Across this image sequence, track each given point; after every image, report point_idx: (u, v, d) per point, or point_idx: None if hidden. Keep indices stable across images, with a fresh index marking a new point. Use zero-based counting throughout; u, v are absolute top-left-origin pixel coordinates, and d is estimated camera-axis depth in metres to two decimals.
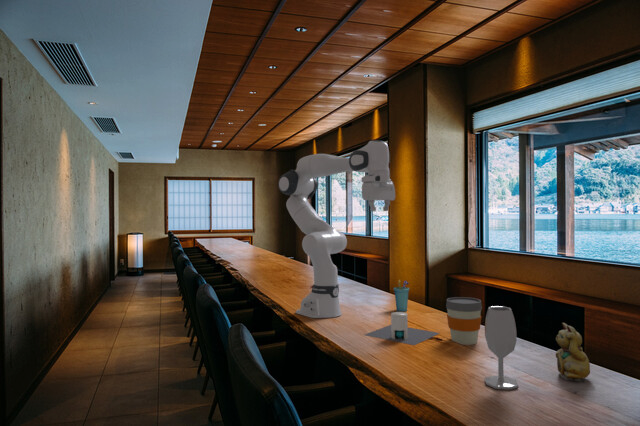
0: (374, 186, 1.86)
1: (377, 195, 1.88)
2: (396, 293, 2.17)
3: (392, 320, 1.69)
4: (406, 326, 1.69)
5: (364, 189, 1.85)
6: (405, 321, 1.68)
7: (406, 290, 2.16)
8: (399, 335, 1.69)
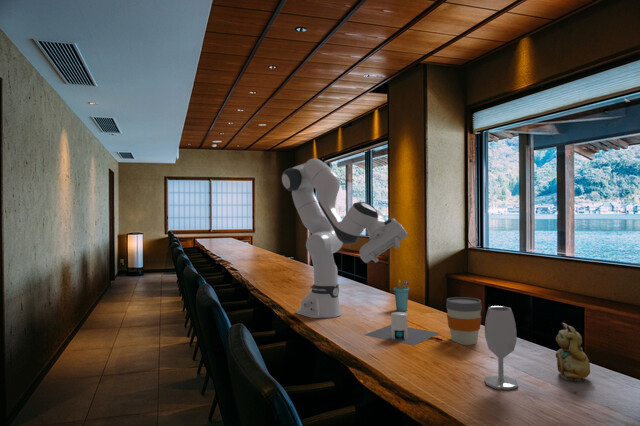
0: None
1: None
2: (396, 293, 2.17)
3: (392, 320, 1.69)
4: (406, 326, 1.69)
5: None
6: (405, 321, 1.68)
7: (406, 290, 2.16)
8: (399, 335, 1.69)
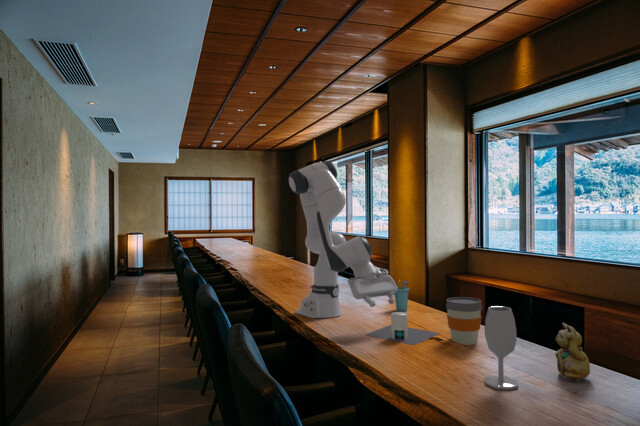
0: None
1: None
2: (396, 293, 2.17)
3: (392, 320, 1.69)
4: (406, 326, 1.69)
5: None
6: (405, 321, 1.68)
7: (406, 290, 2.16)
8: (399, 335, 1.69)
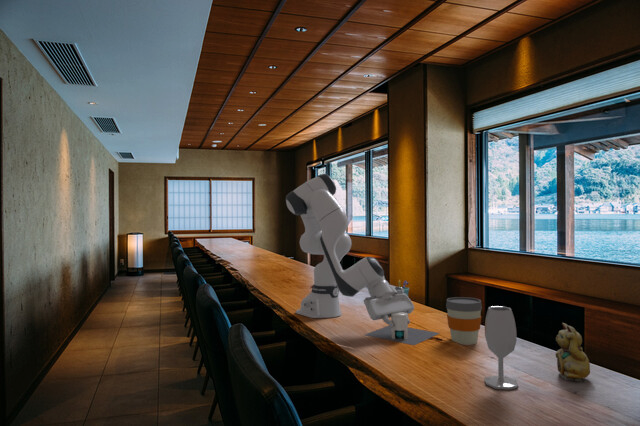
0: None
1: None
2: None
3: (392, 320, 1.69)
4: (406, 326, 1.69)
5: None
6: (405, 321, 1.68)
7: (406, 290, 2.16)
8: (399, 335, 1.69)
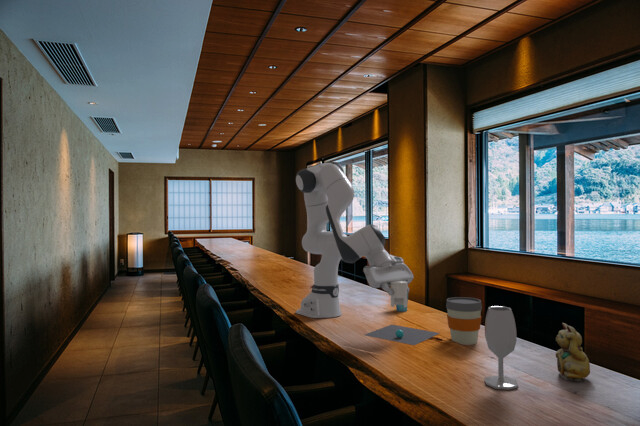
0: None
1: None
2: None
3: (391, 288, 1.69)
4: (405, 294, 1.69)
5: None
6: (404, 289, 1.68)
7: None
8: (399, 335, 1.69)
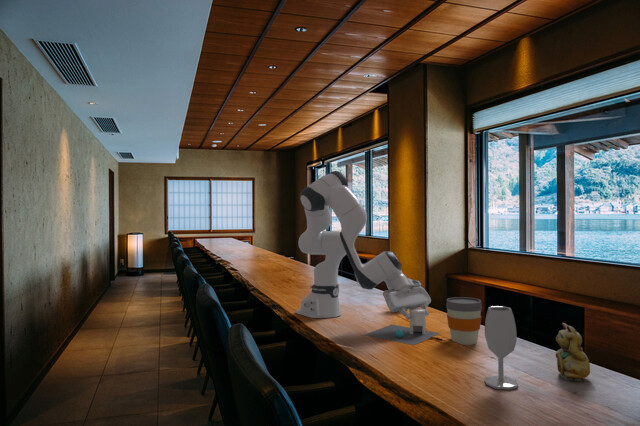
0: None
1: None
2: None
3: None
4: (424, 322, 1.75)
5: None
6: (423, 317, 1.74)
7: None
8: (399, 335, 1.69)
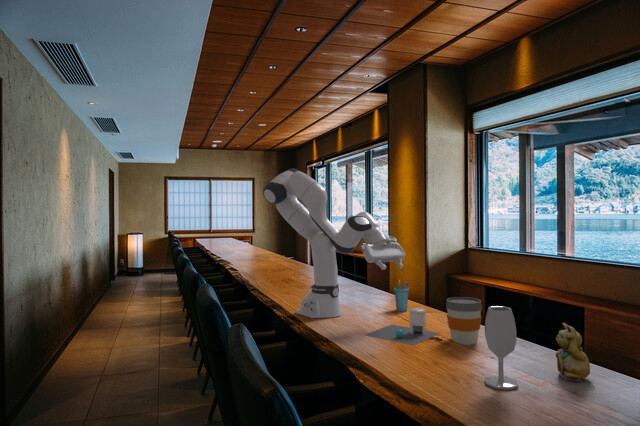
0: None
1: None
2: (396, 293, 2.17)
3: (410, 316, 1.76)
4: (424, 322, 1.75)
5: None
6: (423, 317, 1.74)
7: (406, 290, 2.16)
8: (399, 335, 1.69)
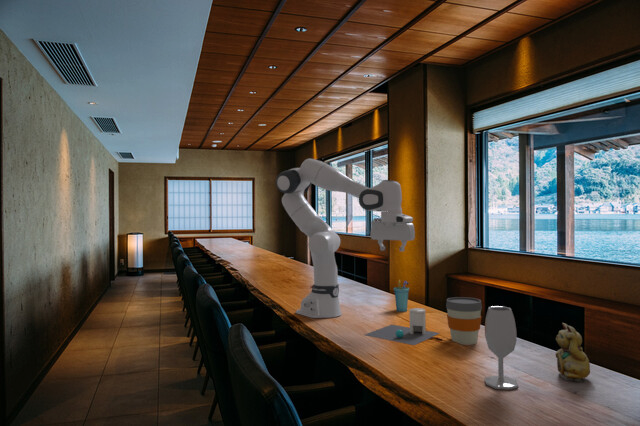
0: None
1: None
2: (396, 293, 2.17)
3: (410, 316, 1.76)
4: (424, 322, 1.75)
5: (411, 229, 1.86)
6: (423, 317, 1.74)
7: (406, 290, 2.16)
8: (399, 335, 1.69)
